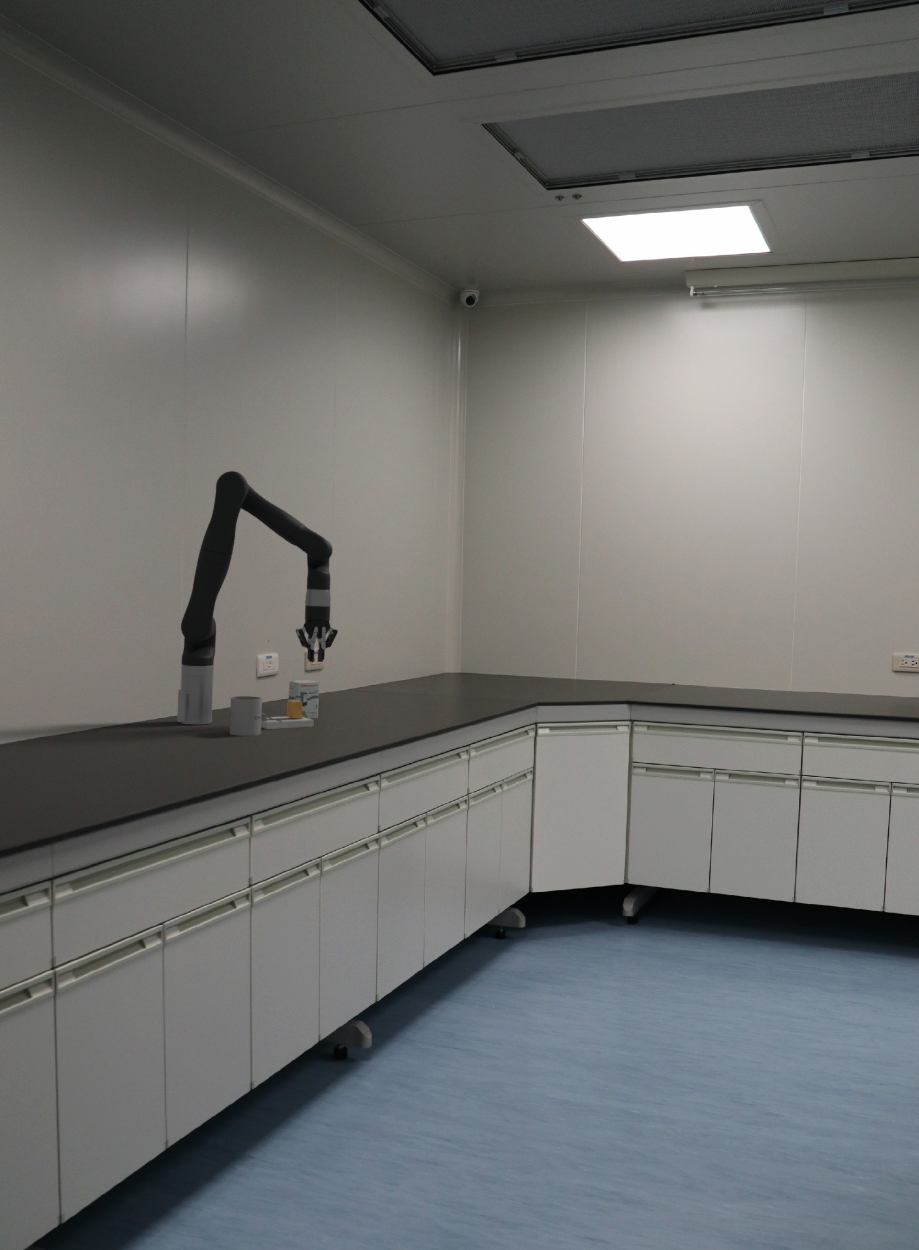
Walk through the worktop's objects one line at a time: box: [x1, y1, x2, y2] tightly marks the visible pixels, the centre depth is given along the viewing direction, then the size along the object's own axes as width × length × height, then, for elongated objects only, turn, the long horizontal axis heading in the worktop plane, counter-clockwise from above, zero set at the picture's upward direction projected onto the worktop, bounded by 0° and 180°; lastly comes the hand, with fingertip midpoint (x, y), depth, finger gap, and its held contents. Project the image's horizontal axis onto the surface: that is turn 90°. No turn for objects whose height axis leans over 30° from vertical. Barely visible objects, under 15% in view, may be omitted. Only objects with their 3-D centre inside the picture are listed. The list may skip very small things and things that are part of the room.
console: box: [261, 712, 315, 730], centre depth 311 cm, size 15×10×4 cm, turn 124°
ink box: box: [288, 679, 320, 720], centre depth 329 cm, size 9×5×12 cm, turn 135°
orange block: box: [286, 700, 302, 718], centre depth 313 cm, size 3×4×5 cm
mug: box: [229, 695, 263, 737], centre depth 295 cm, size 12×9×10 cm
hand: (315, 661), depth 316 cm, fingers open, 2 cm apart
